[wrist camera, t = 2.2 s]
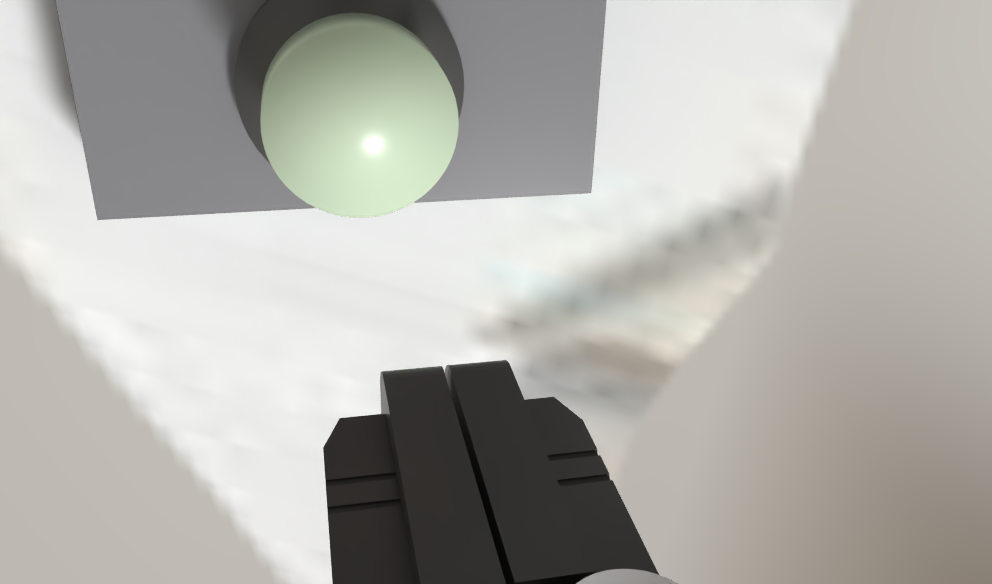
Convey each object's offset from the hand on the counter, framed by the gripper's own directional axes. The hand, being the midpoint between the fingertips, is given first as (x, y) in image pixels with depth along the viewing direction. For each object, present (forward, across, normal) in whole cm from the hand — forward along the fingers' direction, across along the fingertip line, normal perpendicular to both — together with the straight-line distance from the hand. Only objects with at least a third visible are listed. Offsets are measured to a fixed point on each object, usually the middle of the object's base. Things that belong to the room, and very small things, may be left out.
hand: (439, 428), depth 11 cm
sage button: (+14, 0, 0) cm, 14 cm away
